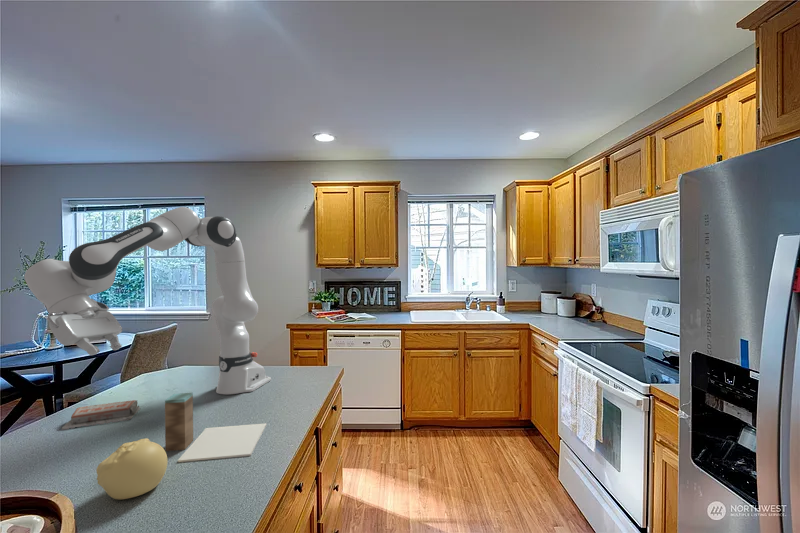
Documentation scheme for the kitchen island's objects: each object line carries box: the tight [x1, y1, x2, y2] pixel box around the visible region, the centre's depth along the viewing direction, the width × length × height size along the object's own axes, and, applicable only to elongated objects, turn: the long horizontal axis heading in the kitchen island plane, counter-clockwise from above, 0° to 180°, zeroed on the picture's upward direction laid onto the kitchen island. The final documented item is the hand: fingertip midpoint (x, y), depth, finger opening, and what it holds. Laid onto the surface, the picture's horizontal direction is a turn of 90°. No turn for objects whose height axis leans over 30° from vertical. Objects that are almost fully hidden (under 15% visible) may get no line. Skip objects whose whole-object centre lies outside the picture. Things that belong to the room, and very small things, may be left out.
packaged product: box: [61, 399, 141, 431], centre depth 115 cm, size 18×5×10 cm
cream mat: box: [177, 422, 267, 463], centre depth 99 cm, size 18×18×1 cm
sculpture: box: [95, 438, 169, 501], centre depth 78 cm, size 11×12×11 cm
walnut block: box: [164, 392, 194, 452], centre depth 97 cm, size 5×5×14 cm
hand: (107, 351), depth 95 cm, fingers open, 8 cm apart
